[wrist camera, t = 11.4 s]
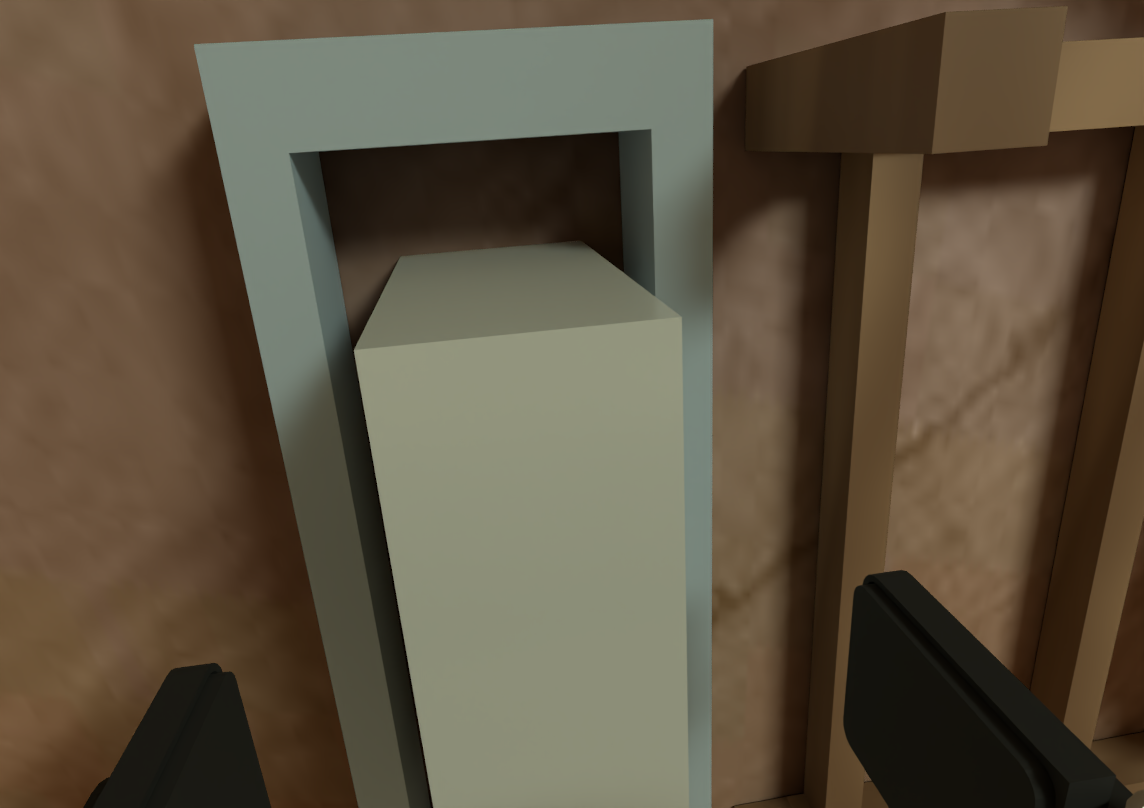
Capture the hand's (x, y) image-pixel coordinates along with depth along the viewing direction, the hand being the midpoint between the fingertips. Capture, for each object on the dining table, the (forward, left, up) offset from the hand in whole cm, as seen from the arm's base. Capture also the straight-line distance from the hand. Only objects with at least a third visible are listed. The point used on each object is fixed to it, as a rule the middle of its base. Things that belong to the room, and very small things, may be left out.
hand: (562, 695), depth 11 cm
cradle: (0, 0, -6) cm, 6 cm away
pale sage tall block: (0, 0, -6) cm, 6 cm away
